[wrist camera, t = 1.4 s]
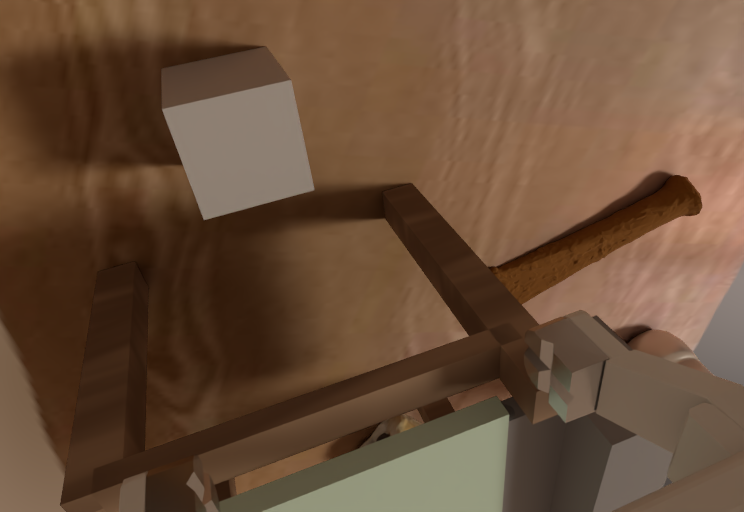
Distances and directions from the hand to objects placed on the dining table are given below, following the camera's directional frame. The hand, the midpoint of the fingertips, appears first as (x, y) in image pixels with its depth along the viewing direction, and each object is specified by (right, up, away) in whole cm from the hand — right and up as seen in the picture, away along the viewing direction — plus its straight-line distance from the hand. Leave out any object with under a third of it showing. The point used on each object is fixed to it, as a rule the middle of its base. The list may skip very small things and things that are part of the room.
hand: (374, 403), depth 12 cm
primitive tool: (+15, +4, +29) cm, 33 cm away
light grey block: (-7, +11, +14) cm, 19 cm away
